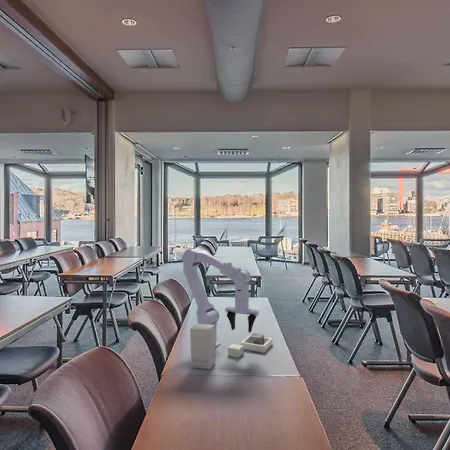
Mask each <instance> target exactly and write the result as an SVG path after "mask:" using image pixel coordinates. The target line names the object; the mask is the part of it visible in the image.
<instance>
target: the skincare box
mask: <svg viewBox="0 0 450 450" xmlns="http://www.w3.org/2000/svg"><path fill="white" fill-rule="evenodd" d="M189 332H190V335H189V337H190V363H191V368H193V369H195V368H196V369H203V370H212V368H213V367H214V366H215V364H216V347H215V332H214V325H206V324H198V323H195V324H194V325H193V326H192V327H190V328H189Z"/></svg>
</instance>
